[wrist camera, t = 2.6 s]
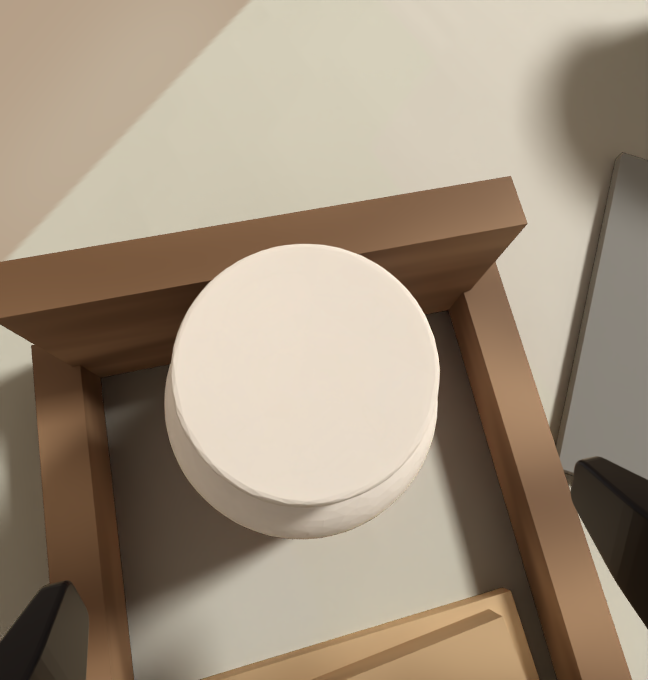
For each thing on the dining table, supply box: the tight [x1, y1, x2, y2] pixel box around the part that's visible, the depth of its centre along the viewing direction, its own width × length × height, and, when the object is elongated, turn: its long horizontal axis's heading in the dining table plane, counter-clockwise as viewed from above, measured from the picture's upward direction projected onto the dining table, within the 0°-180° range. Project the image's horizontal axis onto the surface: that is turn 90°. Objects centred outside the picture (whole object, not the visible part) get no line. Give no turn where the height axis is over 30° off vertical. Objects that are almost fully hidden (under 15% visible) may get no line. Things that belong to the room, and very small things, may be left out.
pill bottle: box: [164, 244, 440, 539], centre depth 15 cm, size 6×6×11 cm
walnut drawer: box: [0, 176, 632, 680], centre depth 15 cm, size 18×16×7 cm
